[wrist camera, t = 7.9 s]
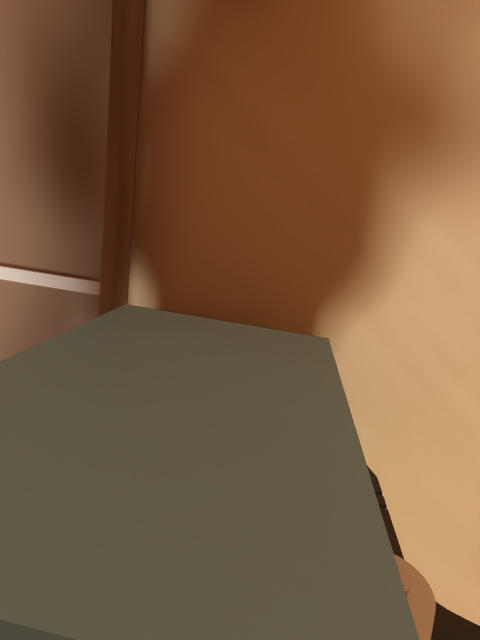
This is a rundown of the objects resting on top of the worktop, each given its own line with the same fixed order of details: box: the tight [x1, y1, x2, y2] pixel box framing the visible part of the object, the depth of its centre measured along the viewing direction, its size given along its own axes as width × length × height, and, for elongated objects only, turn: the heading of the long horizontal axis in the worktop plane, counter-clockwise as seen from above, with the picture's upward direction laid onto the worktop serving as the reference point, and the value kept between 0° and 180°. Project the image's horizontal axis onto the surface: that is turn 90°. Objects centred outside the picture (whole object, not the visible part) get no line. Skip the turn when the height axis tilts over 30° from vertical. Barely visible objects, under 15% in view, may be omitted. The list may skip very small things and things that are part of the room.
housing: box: [0, 304, 420, 640], centre depth 8 cm, size 6×6×9 cm
